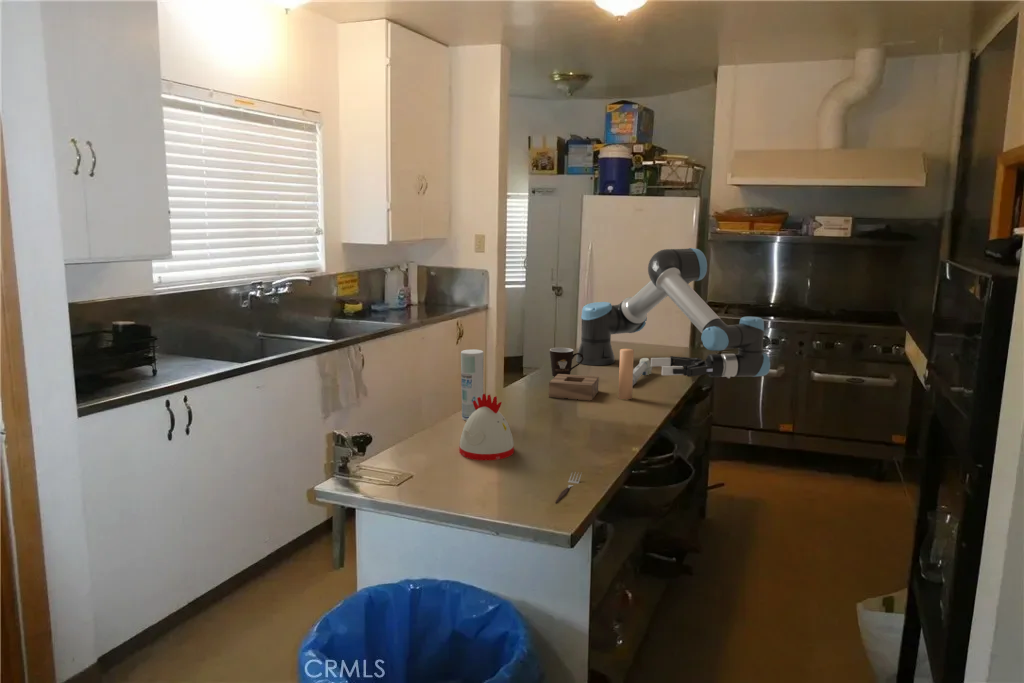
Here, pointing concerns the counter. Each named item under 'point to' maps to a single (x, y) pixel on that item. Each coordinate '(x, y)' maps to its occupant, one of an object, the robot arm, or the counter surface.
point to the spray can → (471, 380)
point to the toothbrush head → (641, 369)
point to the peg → (626, 373)
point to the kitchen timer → (486, 432)
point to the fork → (568, 487)
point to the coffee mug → (562, 360)
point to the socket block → (573, 386)
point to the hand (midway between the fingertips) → (656, 366)
